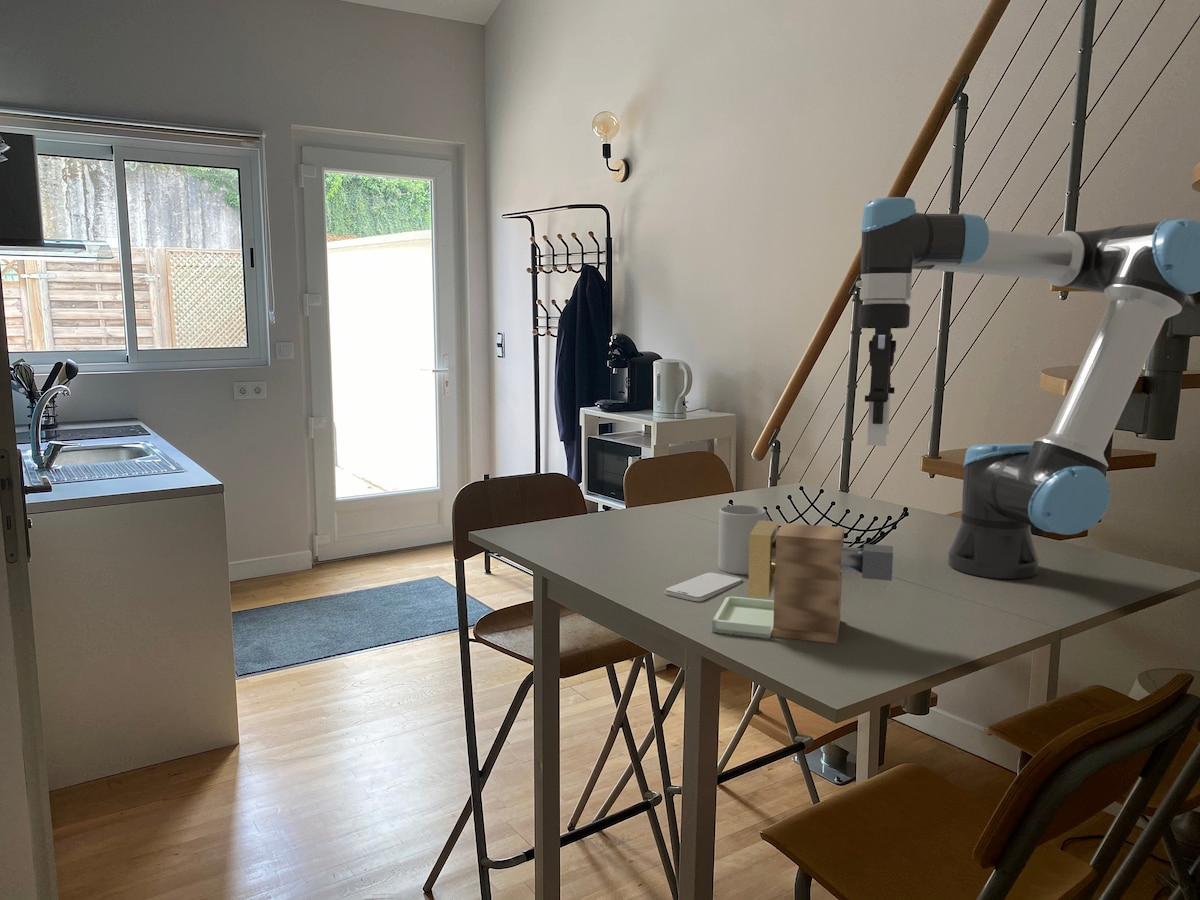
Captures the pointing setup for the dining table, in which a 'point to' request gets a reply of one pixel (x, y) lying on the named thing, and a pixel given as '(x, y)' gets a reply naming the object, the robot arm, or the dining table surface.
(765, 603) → the green tray
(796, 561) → the walnut housing
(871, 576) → the steel shaft
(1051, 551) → the dining table surface
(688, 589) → the smartphone
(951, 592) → the dining table surface
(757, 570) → the yellow square block
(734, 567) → the mug
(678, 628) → the dining table surface
